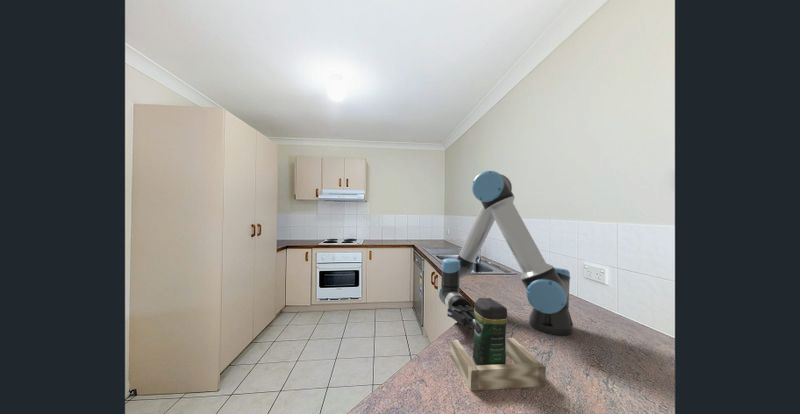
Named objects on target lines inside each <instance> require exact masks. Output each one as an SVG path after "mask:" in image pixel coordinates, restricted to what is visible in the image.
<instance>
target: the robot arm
mask: <svg viewBox="0 0 800 414" xmlns="http://www.w3.org/2000/svg"><path fill="white" fill-rule="evenodd" d="M512 187H513V185H512V182H511V180H510V179H509V178H508V177H507V176H506V175H504V174H501V173H499V172H497V171H495V170H485V171H482V172H479V174H478V175H476V176H475V178H474V179H473V181H472V184H471V190H472V191H471V192H472V194H473V195H474V197H475V199H476V200H478V201H480V202H481V206H480V209H479V211H478V213H477V214H476V217H475V219H474V221H473V223H472V226H471V227H470V229H469V231H468V234H467V236H466V239H465V240H464V243H463V245H462V247H461V249H460V252H459V254H458V256H457V258H452V257H451V258H449V257H447V258H444V259H443V260H442V262H441V269H440V270H441V283H440V285H441V286H440V287H439V289H438V293H437V294H438V297H439V300H440V301H441V303H442V304H443V305H444V306H445V307H446V309H447V310H446V311H447V313H446V314H447V317H449V318H451V319H453V320H454V321H456V322H457V323H458V324H460V325H461V326H463V327H466V326H468V329H469V330H475V313H474V308H475V307H473V306H471V303H470V302H469V301H468V300H467V299H466V298H465V297H464V296H463V295H462V294H461V293H460V280H461V279H462V278H464V277H466V276H469V275H470V274H472V272H473V270H474V264H475V261H476V259H477V257H478V256H479V253H480V251H481V249H482V247H483V245H484V243H485V241H486V239H487V237H488V235H489V233H490V231H491V229H492V227H493V225H494V223H495V222H496V224H497V226H498V228H499V230H500V232H501V234H502V236H503V238H504V240H505V242H506V244H507V245H508V246H507V247H509V249H510V251H511V253H512V255H513V256H514V259H515V261H516V263H517V264H518V267H519V269H520V270H521V272H522V273H521V275H520V280H521V282H522V284H523V286H524V288H525V290H526V292H525V294H526V299H527V301H528V303H529V304H530V306H531V307H532V309H531V313H530V315H529V317H528V319H529V320H528V323H529V325H530V326H531V327H532V328H534V329H536V330H538V331H540V332H544V333H546V334H550V335H554V336H555V335H556V336H570V335H572V334H573V333H574V323H573V319H572V316H571V313H570V310H569V309H570V308H569V307H570V306H569V305H570V285H571V284H570V282H571V281H570V280H571V274H570V271H569V270H568V269H566V268H560V267H554V266H553V265H551V264H550V263H547V262H546V260H545V258H544V256H543V255H542V252H541V251H540V250H539V247H538V246H537V244H536V242H535V240H534V238H533V237H532V235H531V233H530V231H529V229H528V228H527V226H526V224H525V222H524V221H523V218H522V217H521V215H520V213H519V211H518V210H517V208H516V206H515V204H514V201H515V195H514V194H513V191H512V190H513V188H512Z"/></svg>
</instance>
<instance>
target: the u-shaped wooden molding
mask: <svg viewBox="0 0 800 414" xmlns="http://www.w3.org/2000/svg"><path fill="white" fill-rule="evenodd" d="M449 355H450V358H451V359H452V361H453V363H454V365H455V367H456V369H457V370H458V372H459V373H460V375H461V377H462V379H463V380H464V382H465V383H466V385H467V386H468V388H469V390H470V391H472V392H473V391H484V390H485V391H486V390H489V391H490V390H502V389H506V390H507V389H516V388H517V389H519V388H521V389H522V388H536V387H546V375H547V374H546V370H547V368H546V367H547V366H546V365H545V364H543V362H541V361H540V360H539V359H538V358H536V356H534V355H533V354H532V353H531V352H530V351H528V350H527V349H526V348H525V347H524V346H523V345H522V344H520V343H519V342H518V341H517V339H515V338H513V337H507V338H506V355H507V356H508V357H509V358H510V360H511V361H513V363H506V364H498V365H477V364H476V363H475V362H474V360H473V358H471V357H470V355H469V354H468V353H467V351H466V349H465V348H464V347H463V345H462V344H461V343H460V341H459V340H458V339H450V354H449Z"/></svg>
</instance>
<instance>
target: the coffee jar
mask: <svg viewBox="0 0 800 414" xmlns="http://www.w3.org/2000/svg"><path fill="white" fill-rule="evenodd" d="M473 308H474V314H475V330H474V334H473V346H472V347H473V348H472V361H473V362H474V364H475V365H476V366H477V365H498V364H507V363H506V361H507V358H506V357H507V356H506V355H507V354H506V346H507V338H506V337H507V331H506V330H507V324H508V323H507V322H508V308H507V307H506V306H504V305H502V304H501V303H499V302H498V301H497V300H494V299H492V298H491V297H479V298H478V299H477V300H476V301H475V302H474V307H473Z"/></svg>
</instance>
